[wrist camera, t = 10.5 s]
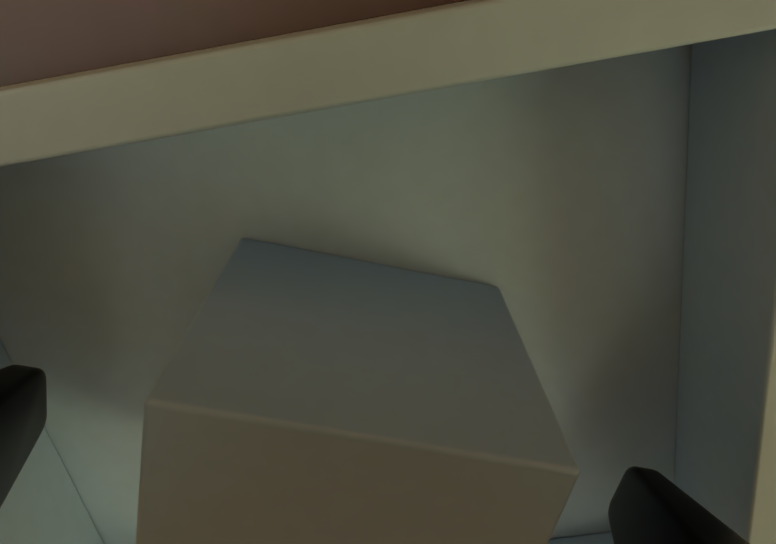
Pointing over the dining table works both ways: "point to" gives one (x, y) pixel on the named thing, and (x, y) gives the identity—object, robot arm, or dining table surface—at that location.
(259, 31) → the dining table surface
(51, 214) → the gray tray
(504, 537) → the gray block
